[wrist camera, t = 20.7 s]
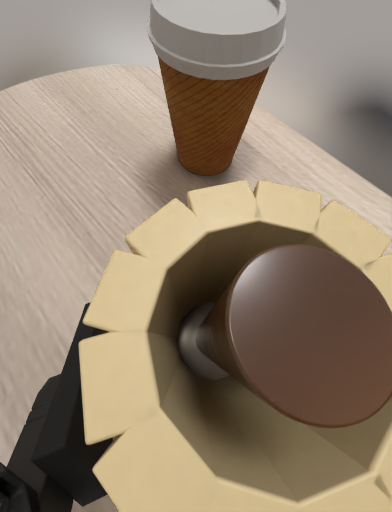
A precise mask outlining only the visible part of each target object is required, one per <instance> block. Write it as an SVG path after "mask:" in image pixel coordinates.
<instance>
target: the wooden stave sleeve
mask: <svg viewBox="0 0 392 512" xmlns="http://www.w3.org/2000/svg"><path fill="white" fill-rule="evenodd" d="M125 241H126V243H127V244H128V246H129V247H130V249H131V251H132V252H133V254H132V253H128V252H124V251H121V250H114V251H113V254H112V256H111V258H110V260H109V263H108V265H107V267H106V269H105V272H104V274H103V276H102V278H101V281H100V283H99V285H98V287H97V290H96V292H95V294H94V296H93V298H92V301H91V303H90V305H89V307H88V310H87V312H86V314H85V316H84V319H83V323H84V324H85V325H87V326H91V327H94V328H98V329H101V330H105V331H108V333H104V334H101V335H97V336H94V337H90V338H86V339H83V340H82V341H80V342H79V359H80V373H81V388H82V403H83V417H84V432H85V442H86V445H92V444H95V443H98V442H101V441H104V440H107V439H110V438H112V437H115V436H116V438H115V439H114V440H113V442H112V443H111V444H110V446H109V447H108V448H107V450H106V451H105V452H104V453H103V455H102V456H101V457H100V459H99V460H98V461H97V463H96V464H95V465H94V467H93V473H94V474H95V476H96V477H97V479H98V480H99V482H100V483H101V485H102V486H103V488H104V489H105V491H106V492H107V494H108V496H109V497H110V499H111V500H112V502H113V503H114V505H115V506H116V508H117V509H118V511H119V512H392V395H391V397H390V398H389V400H388V401H387V403H386V404H385V405H384V406H383V407H382V408H381V409H380V410H379V411H378V412H377V413H376V414H374V415H373V416H372V417H370V418H369V419H367V420H365V421H363V422H361V423H359V424H355V425H352V426H348V427H345V428H335V429H326V428H316V427H312V426H307V425H304V424H301V423H299V422H296V421H293V420H291V419H289V418H287V417H286V416H284V415H282V414H280V413H279V412H277V411H276V410H274V409H273V408H272V407H270V406H269V405H268V404H266V403H265V402H264V401H262V400H261V399H260V398H259V397H257V396H256V395H255V394H254V393H252V392H251V391H250V390H248V389H247V388H246V387H245V386H243V385H242V384H241V383H240V382H238V381H237V380H236V379H234V378H233V377H232V376H231V375H230V376H227V377H224V378H221V379H218V380H215V381H214V380H210V379H207V378H203V377H200V376H196V375H194V373H193V372H192V371H191V370H190V369H189V368H188V367H187V366H186V365H185V363H184V362H183V361H182V360H181V358H180V353H179V349H178V345H177V340H176V338H177V334H178V331H179V327H180V323H181V320H182V319H183V318H184V317H185V316H186V315H187V314H188V313H189V312H190V310H191V309H192V308H193V307H194V306H198V305H202V304H205V303H209V302H215V303H216V302H217V301H218V300H219V298H220V297H221V295H222V294H223V293H224V291H225V290H226V289H227V287H228V286H229V284H230V283H231V282H232V280H233V279H234V277H235V276H236V275H237V273H238V272H239V271H240V269H241V268H242V267H243V266H244V265H245V264H246V263H247V262H248V261H249V260H250V259H251V258H253V257H254V256H256V255H257V254H259V253H261V252H263V251H265V250H267V249H270V248H273V247H276V246H281V245H290V244H302V245H310V246H315V247H319V248H322V249H326V250H328V251H330V252H333V253H335V254H337V255H339V256H341V257H343V258H344V259H346V260H348V261H349V262H350V263H352V264H353V265H355V266H356V267H357V268H358V269H360V270H361V271H362V272H363V273H364V274H365V275H366V276H367V277H368V278H369V279H370V280H371V281H372V282H373V283H374V285H375V286H376V287H377V288H378V289H379V291H380V292H381V294H382V295H383V297H384V298H385V300H386V302H387V304H388V306H389V307H390V309H391V311H392V253H391V254H388V255H384V256H382V254H383V253H384V251H385V250H386V248H387V247H388V245H389V244H390V243H391V241H392V239H391V238H390V237H388V236H387V235H385V234H384V233H382V232H381V231H380V230H378V229H377V228H375V227H374V226H372V225H371V224H369V223H368V222H366V221H365V220H363V219H362V218H361V217H359V216H358V215H356V214H355V213H353V212H352V211H350V210H349V209H347V208H346V207H344V206H343V205H341V204H340V203H339V202H337V201H336V200H332V201H330V202H329V203H328V204H327V205H326V206H325V207H324V208H323V209H322V210H321V194H320V193H317V192H313V191H308V190H304V189H299V188H295V187H290V186H286V185H282V184H277V183H273V182H268V181H264V180H259V181H258V183H257V185H256V187H255V189H254V192H252V190H251V188H250V185H249V183H248V181H247V180H241V181H236V182H231V183H226V184H221V185H217V186H212V187H207V188H202V189H197V190H192V191H188V192H187V207H186V206H185V205H184V204H183V203H182V202H180V201H179V200H178V199H177V198H174V199H173V200H171V201H170V202H169V203H167V204H166V205H165V206H164V207H162V208H161V209H160V210H159V211H157V212H156V213H155V214H153V215H152V216H151V217H150V218H148V219H147V220H146V221H144V222H143V223H142V224H141V225H139V226H138V227H137V228H136V229H134V230H133V231H132V232H130V233H129V234H128V235H127V236H126V237H125Z"/></svg>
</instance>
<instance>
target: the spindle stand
mask: <svg viewBox="0 0 392 512" xmlns="http://www.w3.org/2000/svg"><path fill="white" fill-rule="evenodd" d="M176 340H177V345H178V349H179V353H180V358H181V360H182V361H183V362H184V363H185V365H186V366H187V367H188V368H189V369H190V370H191V371H192V372H193V373H194V375H196V376H200V377H203V378H207V379H210V380H214V381H215V380H218V379H221V378H224V377H227V376H230V375H231V376H232V377H233V378H234V379H236V380H237V381H238V382H240V383H241V384H242V385H243V386H245V387H246V388H247V389H248V390H250V391H251V392H252V393H254V394H255V395H256V396H257V397H259V398H260V399H261V400H262V401H264V402H265V403H266V404H268V405H269V406H270V407H272V408H273V409H274V410H276V411H277V412H279V413H280V414H282V415H284V416H286V417H287V418H289V419H291V420H293V421H296V422H299V423H301V424H304V425H307V426H312V427H316V428H326V429H335V428H345V427H348V426H352V425H355V424H359V423H361V422H363V421H365V420H367V419H369V418H370V417H372V416H373V415H374V414H376V413H377V412H378V411H379V410H380V409H381V408H382V407H383V406H384V405H385V404H386V403H387V401H388V400H389V398H390V397H391V395H392V311H391V309H390V307H389V306H388V304H387V302H386V300H385V298H384V297H383V295H382V294H381V292H380V291H379V289H378V288H377V287H376V286H375V285H374V283H373V282H372V281H371V280H370V279H369V278H368V277H367V276H366V275H365V274H364V273H363V272H362V271H361V270H360V269H358V268H357V267H356V266H355V265H353V264H352V263H350V262H349V261H348V260H346V259H344V258H343V257H341V256H339V255H337V254H335V253H333V252H330V251H328V250H326V249H322V248H319V247H315V246H310V245H302V244H290V245H281V246H276V247H273V248H270V249H267V250H265V251H263V252H261V253H259V254H257V255H256V256H254V257H253V258H251V259H250V260H249V261H248V262H247V263H246V264H245V265H244V266H243V267H242V268H241V269H240V271H239V272H238V273H237V275H236V276H235V277H234V279H233V280H232V282H231V283H230V284H229V286H228V287H227V289H226V290H225V291H224V293H223V294H222V295H221V297H220V298H219V300H218V301H217V302H216V303H215V302H209V303H205V304H202V305H198V306H194V307H193V308H192V309H191V310H190V312H189V313H188V314H187V315H186V316H185V317H184V318H183V319H182V320H181V323H180V327H179V331H178V334H177V338H176Z"/></svg>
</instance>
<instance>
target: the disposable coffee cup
mask: <svg viewBox="0 0 392 512" xmlns="http://www.w3.org/2000/svg"><path fill="white" fill-rule="evenodd" d="M286 12H287V6H286V1H285V0H151V11H150V16H149V18H148V21H147V31H148V35H149V38H150V40H151V42H152V44H153V47H154V49H155V52H156V54H157V55H158V59H159V64H160V68H161V74H162V78H163V84H164V90H165V93H166V99H167V103H168V109H169V113H170V118H171V122H172V128H173V133H174V138H175V143H176V147H177V152H178V158H179V161H180V163H181V164H182V165H183V166H184V167H185V168H186V169H187V170H189V171H191V172H192V173H195V174H198V175H214V174H218V173H220V172H222V171H224V170H225V169H227V168H228V166H229V165H230V164H231V161H232V158H233V156H234V153H235V151H236V149H237V146H238V144H239V141H240V139H241V136H242V134H243V131H244V129H245V126H246V124H247V122H248V119H249V116H250V114H251V111H252V109H253V106H254V104H255V101H256V99H257V96H258V94H259V91H260V89H261V86H262V84H263V82H264V79H265V76H266V74H267V72H268V69H269V66H270V65H271V63H272V62H273V61H274V60H275V58H276V56H277V54H278V53H279V52H280V50H281V49H282V48H283V46H284V43H285V40H286V30H285V27H284V25H285V19H286Z"/></svg>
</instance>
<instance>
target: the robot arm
mask: <svg viewBox="0 0 392 512" xmlns="http://www.w3.org/2000/svg"><path fill="white" fill-rule="evenodd" d="M89 305H90V303H88V304H86V305H85V307H84V310H83V313H82V316H81V319H80V322H79V324H78V327H77V330H76V333H75V336H74V339H73V342H72V344H71V347H70V350H69V353H68V356H67V359H66V362H65V364H64V367H63V370H62V373H61V374H59V375H57V376H54V377H51V378H49V379H48V381H47V382H46V383H45V385H44V386H43V387H42V389H41V390H40V391H39V393H38V395H37V397H36V399H35V402H34V404H33V406H32V411H31V412H30V413H29V416H28V418H27V420H26V425H24V428H23V430H22V432H21V435H20V437H19V439H18V442H17V444H16V446H15V449H14V451H13V453H12V456H11V458H10V460H9V463H8V465H7V467H6V466H5V465H3V464H2V463H1V462H0V512H71V510H72V504H73V499H74V500H75V501H76V502H78V503H79V504H80V505H81V506H82V507H83V506H85V505H87V504H89V503H91V502H93V501H95V500H97V499H99V498H101V497H103V496H105V495H108V494H107V492H106V491H105V489H104V488H103V486H102V485H101V483H100V482H99V480H98V479H97V477H96V476H95V474H94V473H93V467H94V465H95V464H96V463H97V461H98V460H99V459H100V457H101V456H102V455H103V453H104V452H105V451H106V450H107V448H108V447H109V446H110V444H111V443H112V442H113V437H112V438H110V439H107V440H104V441H101V442H98V443H95V444H92V445H86V442H85V432H84V417H83V403H82V388H81V373H80V359H79V342H80V341H82V340H83V339H86V338H90V337H94V336H97V335H101V334H104V333H108V331H105V330H101V329H98V328H94V327H91V326H87V325H85V324H84V323H83V319H84V316H85V314H86V312H87V310H88V307H89Z"/></svg>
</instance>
